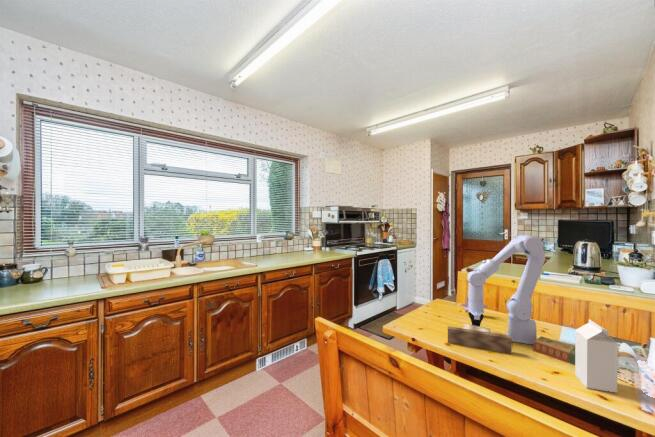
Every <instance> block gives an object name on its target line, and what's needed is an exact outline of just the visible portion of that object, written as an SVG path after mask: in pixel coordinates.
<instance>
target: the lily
mask: <svg viewBox="0 0 655 437" xmlns="http://www.w3.org/2000/svg"><path fill="white" fill-rule="evenodd" d="M459 306H462V307H464V312H465V313H466V312H469V311H467V310H466V309H465V308H468V296H465V303H461V304H459ZM483 309H489V306H487V305H486V304H483Z"/></svg>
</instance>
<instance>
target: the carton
mask: <svg viewBox="0 0 655 437" xmlns="http://www.w3.org/2000/svg"><path fill="white" fill-rule="evenodd" d="M532 348H533V352H535V353H538V354H540V355H544V356H546V357H549V358H551V359H554V360H555V359H556V360H557V361H561V362H563V363H566V364H569V365H572V366H575V345H571V344H568V343H566V342H565V343H564V342H561V341H557V340H554V339H551V338H548V337H546V336H545V337H544V336H540V337H538V338H537V340H535V341H534V343H533V345H532Z"/></svg>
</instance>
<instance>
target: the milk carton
mask: <svg viewBox="0 0 655 437" xmlns="http://www.w3.org/2000/svg"><path fill="white" fill-rule="evenodd" d="M574 332H575V334H574V337H575V338H574V339H575V341H574V342H575V345H574V347H575V368H574V375H575V376H576V378H577V379H578V380H579V381H580V382H581V383H582V384H583V386H584V387H585V388H586V389H591V390H596V391H597V390H598V391H603V392H608V391H609V392H610V393H614V392H615V393H616V394H617V393H618V361H619V360H618V356H619V355H618V349H619V348H618V346H619V345H618V342H617V341H616V340H614V339H613V338H612V337H610V336H609V335H610V334H611V332H610V331H609V330H607V329H606V328H605V327H602V326H600V325H599V324H598V323H596V322H595V321H593V320H591V319H590V318H589V319H588V322H587V323H585V324H583V325H582V326H580V327H578V328H576V329H575V330H574Z"/></svg>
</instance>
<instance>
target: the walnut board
mask: <svg viewBox="0 0 655 437" xmlns="http://www.w3.org/2000/svg"><path fill="white" fill-rule="evenodd" d="M512 342H513V341H512V338H511V336H509V335H506V334H502V333H496V332H495V333H494V332H490V333H489V332H483V331H476V330H470V329H463V328H462V327H457V326H456V327H454V326H448V325H447V344H451V345H457V346H464V347H470V348H473V349H474V348H475V349H479V350H480V349H481V350H485V351H486V350H487V351H491V352H497V353H503V354H508V355H512V353H513V352H512V350H513V349H512V348H513V347H512V346H513V344H512Z"/></svg>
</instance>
